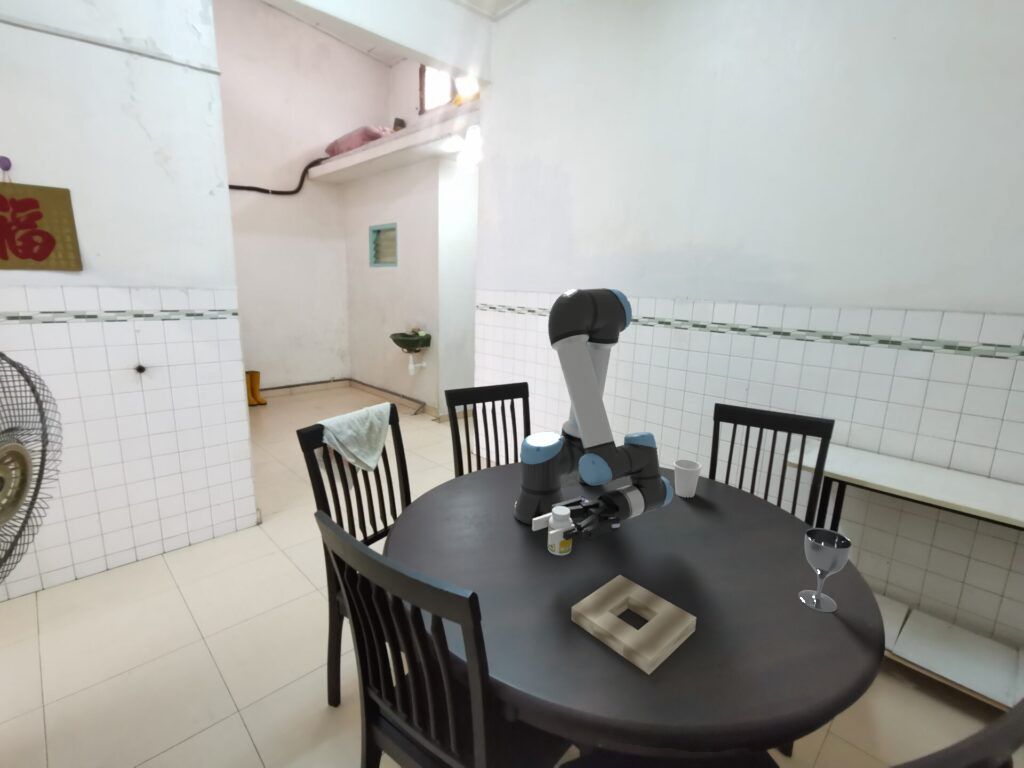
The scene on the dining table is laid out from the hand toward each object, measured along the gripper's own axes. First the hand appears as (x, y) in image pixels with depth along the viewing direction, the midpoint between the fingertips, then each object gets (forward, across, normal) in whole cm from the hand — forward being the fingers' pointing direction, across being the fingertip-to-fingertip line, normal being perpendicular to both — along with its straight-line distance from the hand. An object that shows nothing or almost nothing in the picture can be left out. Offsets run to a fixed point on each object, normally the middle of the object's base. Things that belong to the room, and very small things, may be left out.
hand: (541, 531), depth 103 cm
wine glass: (-48, -35, -13) cm, 61 cm away
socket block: (-9, -20, -13) cm, 25 cm away
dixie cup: (-66, +14, -15) cm, 69 cm away
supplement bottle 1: (-5, 0, -6) cm, 8 cm away
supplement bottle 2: (-46, +36, -15) cm, 61 cm away
